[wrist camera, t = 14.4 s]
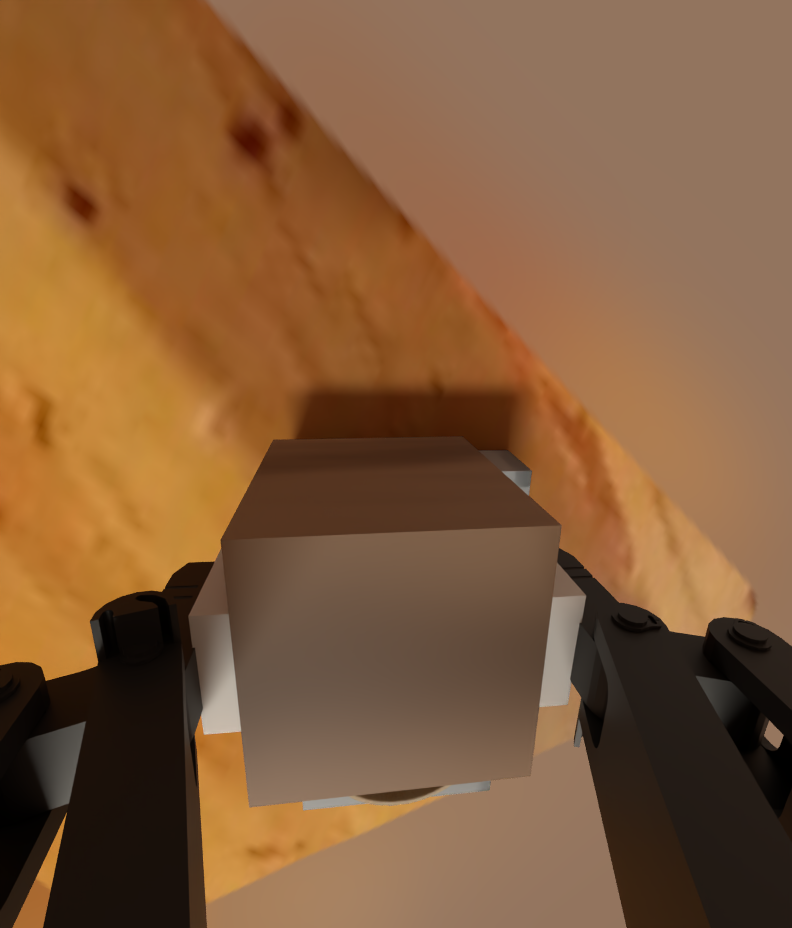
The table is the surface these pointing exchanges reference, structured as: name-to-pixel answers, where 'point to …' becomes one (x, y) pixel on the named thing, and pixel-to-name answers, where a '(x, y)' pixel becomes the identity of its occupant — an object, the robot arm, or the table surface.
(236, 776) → the table surface
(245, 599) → the walnut block
